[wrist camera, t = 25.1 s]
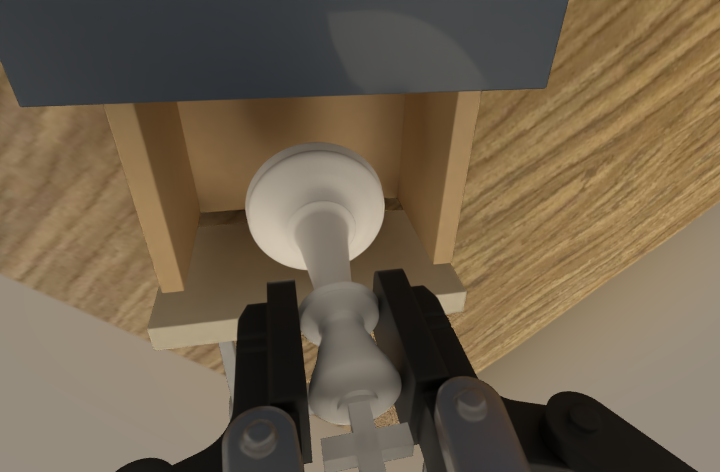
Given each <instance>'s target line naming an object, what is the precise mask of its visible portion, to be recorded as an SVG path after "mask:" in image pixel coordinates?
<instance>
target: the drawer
mask: <svg viewBox="0 0 720 472" xmlns="http://www.w3.org/2000/svg"><path fill="white" fill-rule="evenodd" d="M481 92H482V91H460V92H432V93H404V94H376V95H348V96H320V97H292V98H264V99H236V100H208V101H179V102H151V103H123V104H103V106H104V109H105V112H106V115H107V119H108V122H109V125H110V128H111V131H112V135H113V138H114V141H115V144H116V147H117V151H118V154H119V157H120V160H121V164H122V167H123V170H124V173H125V176H126V180H127V183H128V186H129V189H130V192H131V196H132V199H133V202H134V205H135V208H136V212H137V215H138V218H139V221H140V224H141V228H142V231H143V234H144V237H145V241H146V244H147V247H148V250H149V253H150V257H151V260H152V263H153V266H154V269H155V273H156V276H157V279H158V282H159V289H158V292H157V296H156V299H155V303H154V306H153V310H152V313H151V317H150V320H149V324H148V327H147V331H148V334H149V337H150V339H151V342H152V345H153V348H154V350H155V351H156V350H165V349H173V348H181V347H189V346H197V345H205V344H212V343H219V348H220V352H221V356H222V360H223V365H224V369H225V373H226V377H227V382H228V386H229V390H230V394H231V396H230V401H229V414H230V420H231V417H232V412H233V399H234V381H235V362H236V346H235V342H234V341H236V340H237V325H238V319H239V317H240V316H241V314H242V312H243V311H244V309H245V307H246V306H247V304H256V303H265V302H267V282H272V281H281V280H291V279H295V284H296V294H297V303H298V309H299V306H300V304H301V303H302V301H303V300H304V298H305V297H306V296H307V295H308V294H310V293H311V292H312V291H314V288H313V285H312V282H311V279H310V276H309V273H308V270H301V269H296V268H292V267H289V266H286V265H283V264H281V263H279V262H277V261H275V260H274V259H272V258H271V257H269V256H268V255H267V254H266V253H265V252H264V251H263V250H262V249H261V248H260V247H259V246H258V245H257V243H256V242H255V240H254V238H253V236H252V234H251V232H250V229H249V225H248V223H238V224H226V225H214V226H202V227H198V223H199V218H200V214H201V213H204V212H217V211H230V210H243V209H245V201H246V194H247V190H248V187H249V184H250V182H251V180H252V178H253V177H254V175H255V173H256V172H257V171H258V169H259V168H260V167H261V166H262V165H263V164H264V163H265V162H266V161H267V160H268V159H270V158H271V157H272V156H274V155H275V154H277V153H278V152H280V151H282V150H284V149H287V148H289V147H292V146H295V145H299V144H303V143H310V142H325V143H332V144H337V145H340V146H343V147H346V148H348V149H350V150H352V151H354V152H356V153H357V154H359V155H360V156H361V157H363V158H364V159H365V160H366V161H367V162H368V163H369V164H370V165H371V166H372V168H373V169H374V170H375V172H376V174H377V176H378V178H379V180H380V183H381V186H382V191H383V196H384V199H385V198H398V200H399V202H400V204H401V205H402V207H403V209H404V210H396V211H384V218H383V222H382V225H381V228H380V230H379V232H378V234H377V236H376V237H375V239H374V240H373V242H372V243H371V244H370V245H369V246H368V248H367V249H366V250H364V251H363V252H362V253H361V254H360V255H358V256H357V257H355V258H354V259H352V260H350V272H351V280H352V282H355V283H359V284H362V285H364V286H366V287H368V288H369V289H370V290H372V291H373V277H374V272H375V271H380V270H389V269H399V268H402V269H403V270H404V272H405V274H406V276H407V278H408V281H409V283H410V285H411V286H420V285H424V286H425V287H426V288H427V289H429V290H430V291H431V292H432V293H433V294H434V295H435V296H436V297H438V299H439V302H440V304H441V306H442V308H443V310H444V312H445V314H450V313H457V312H463V308H464V303H465V298H466V294H467V291H466V289H465V287H464V286H463V284H462V282H461V281H460V279H459V277H458V276H457V274H456V272H455V270H454V269H453V267H452V265H451V264H450V263H451V262H452V257H453V252H454V246H455V240H456V235H457V229H458V223H459V218H460V212H461V206H462V200H463V195H464V189H465V183H466V178H467V172H468V166H469V161H470V155H471V149H472V144H473V138H474V132H475V127H476V121H477V115H478V109H479V104H480V98H481ZM300 331H301V329H300ZM301 332H302V331H301ZM309 385H310V383H306V386H307V396H308V390H309ZM308 409H309V415H314V414H315V413H314V412H313V411H312V409H311V408H310V405H309V402H308Z"/></svg>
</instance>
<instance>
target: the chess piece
mask: <svg viewBox="0 0 720 472" xmlns="http://www.w3.org/2000/svg"><path fill="white" fill-rule="evenodd" d="M245 211H246V217H247V221H248V225H249V229H250V232H251V234H252V236H253V238H254V240H255V242H256V243H257V245H258V246H259V247H260V248H261V249H262V250H263V251H264V252H265V253H266V254H267V255H268V256H269V257H271V258H272V259H274V260H275V261H277V262H279V263H281V264H283V265H286V266H289V267H292V268H296V269H301V270H308V273H309V276H310V279H311V282H312V285H313V288H314V291H312V292H311V293H310V294H308V295H307V296H306V297H305V298H304V300H303V301H302V303H301V304H300V306H299V309H298V312H299V321H300V329H301V331H302V333H303V335H304V336H305V337H306V338H307V339H308V340H309V341H310V342H312V343H314V344H315V345H318V346H319V349H318V355H317V361H316V365H315V368H314V370H313V373H312V376H311V380H310V385H309V390H308V402H309V405H310V408H311V409H312V411H313V412H314V413H315V414H316V415H317V416H318V417H319V418H321V419H323V420H324V421H327V422H330V423H333V424H338V425H350V426H351V431H352V433H349V434H344V435H339V436H334V437H328V438H323V439H321V445H322V453H323V461H324V469H325V472H337V471H342V470H347V469H351V468H356V467H358V468H359V472H386V469H385V465H384V462H386V461H391V460H396V459H400V458H405V457H410V456H413V449H414V442H413V439H412V435H411V432H410V429H409V426H408V422H406V423H401V424H396V425H391V426H386V427H380V428H376V427H375V423H374V419H375V418H377V417H379V416H380V415H382V414H384V413H385V412H386V411H387V410H389V409H390V408H391V407H392V406H393V404H394V403H395V402H396V400H397V399H398V397H399V395H400V392H401V387H402V382H401V377H400V375H399V372H398V371H397V369H396V367H395V366H394V365H393V363H392V362H391V361H390V359H389V358H388V357H387V356H386V355H385V354H384V353H383V352H382V351H381V350H380V348H379V347H378V346H377V345H376V343H375V341H374V340H373V338H372V337H371V335H370V333H371V332H372V331H373V330H374V328H375V327H376V325H377V323H378V319H379V309H378V298H377V297H376V295H375V294H374V293H373V291H372V290H370V289H369V288H368V287H366V286H364V285H362V284H359V283H355V282H352V280H351V272H350V260H352V259H354V258H355V257H357V256H358V255H360V254H361V253H362V252H363V251H364V250H366V249H367V248H368V246H369V245H370V244H371V243H372V242H373V240H374V239H375V237H376V236H377V234H378V232H379V230H380V228H381V225H382V222H383V218H384V211H385V203H384V196H383V191H382V186H381V183H380V180H379V178H378V176H377V174H376V172H375V170H374V169H373V168H372V166H371V165H370V164H369V163H368V162H367V161H366V160H365V159H364V158H363V157H361V156H360V155H359V154H357V153H356V152H354V151H352V150H350V149H348V148H346V147H343V146H340V145H337V144H332V143H325V142H310V143H303V144H299V145H295V146H292V147H289V148H287V149H284V150H282V151H280V152H278V153H277V154H275V155H274V156H272V157H271V158H270V159H268V160H267V161H266V162H265V163H264V164H263V165H262V166H261V167H260V168H259V169H258V171H257V172H256V173H255V175H254V177H253V178H252V180H251V182H250V184H249V187H248V190H247V194H246V201H245Z"/></svg>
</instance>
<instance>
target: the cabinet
mask: <svg viewBox="0 0 720 472" xmlns="http://www.w3.org/2000/svg"><path fill="white" fill-rule="evenodd" d="M568 1H569V0H0V60H1V63H2V65H3V68H4V70H5V72H6V75H7V77H8V79H9V82H10V84H11V87H12V89H13V91H14V94H15V96H16V98H17V101H18V103H19V106H20V107H39V106H67V105H95V104H123V103H151V102H179V101H208V100H236V99H264V98H292V97H320V96H348V95H376V94H404V93H432V92H460V91H488V90H517V89H544V88H546V86H547V82H548V79H549V75H550V71H551V67H552V63H553V59H554V55H555V51H556V47H557V44H558V40H559V36H560V32H561V28H562V24H563V20H564V16H565V12H566V9H567V5H568Z"/></svg>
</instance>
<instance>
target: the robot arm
mask: <svg viewBox="0 0 720 472" xmlns="http://www.w3.org/2000/svg"><path fill="white" fill-rule="evenodd" d="M373 293H374V294H375V295H376V297H377V298H378V309H379V319H378V323H377V325H376V327H375V328H374V330H373V331H374V336H375V339H376V343H377V346H378V347H379V348H380V350H381V351H382V352H383V353H384V354H385V355H386V356H387V357H388V358H389V359H390V361H391V362H392V363H393V365H394V366H395V367H396V369H397V371H398V372H399V375H400V377H401V382H402V387H401V392H400V395H399V397H398V399H397V400H396V402H395V403H394V405H395V408H396V412H397V415H398V419H399V422H400V424H401V423H406V422H408V426H409V429H410V432H411V435H412V439H413V442H414V445H417V444H419V445H420V448H421V451H422V454H423V457H424V463H423V472H698V471H696V470H695V469H693V468H692V467H690V466H689V465H687V464H686V463H685V462H683V461H682V460H681V459H679V458H678V457H676V456H675V455H673V454H672V453H670V452H669V451H668V450H666V449H665V448H663V447H662V446H661V445H659V444H658V443H656V442H655V441H654V440H652V439H651V438H649V437H648V436H646V435H645V434H644V433H642V432H641V431H639V430H638V429H637V428H635V427H634V426H632V425H631V424H629V423H628V422H627V421H625V420H624V419H622V418H621V417H619V416H618V415H617V414H615V413H614V412H612V411H611V410H610V409H608V408H607V407H605V406H604V405H603V404H601V403H600V402H598V401H597V400H595V399H593V398H591V397H589V396H587V395H584V394H582V393H578V392H571V391H567V392H560V393H557V394H555V395H553V396H552V397H551V398H550V399H549V401H548V403H547V405H541V404H534V403H527V402H520V401H514V400H510V399H507V398H504V397H502V396H499V394H498V393H497V392H496V391H495V390H494V389H493V388H492V387H491V386H490V385H489V384H487V383H485V382H484V381H481V380H479V379H478V377H477V376H476V374H475V372H474V370H473V368H472V366H471V364H470V362H469V360H468V358H467V356H466V354H465V352H464V350H463V348H462V346H461V344H460V342H459V340H458V338H457V336H456V334H455V332H454V330H453V328H451V324H450V322H449V320H448V318H447V316H446V315H445V312H444V310H443V308H442V306H441V304H440V302H439V299H438V297H436V296H435V295H434V294H433V293H432V292H431V291H430V290H429V289H427V288H426V287H425V286H424V285H420V286H411V285H410V283H409V281H408V278H407V276H406V274H405V272H404V270H403V269H402V268H399V269H389V270H380V271H375V272H374V277H373ZM306 463H312V451H311V437H310V423H309V409H308V396H307V386H306V377H305V368H304V359H303V349H302V340H301V331H300V321H299V312H298V303H297V294H296V284H295V279H291V280H281V281H272V282H267V302H265V303H256V304H247V306H246V307H245V309H244V311H243V312H242V314H241V316H240V317H239V319H238V325H237V343H236V362H235V381H234V399H233V412H232V417H231V420H230V423H229V425H228V427H227V428H226V430H225V431H224V433H223V434H222V435H221V437H219V439H218V440H217V441H216V442H214V443H213V444H212V445H211V446H209V447H208V448H206V449H205V450H203V451H201V452H199V453H197V454H195V455H193V456H191V457H189V458H187V459H185V460H183V461H181V462H179V463H176V464H174V465H171V464H169V463H168V462H166V461H164V460H162V459H158V458H144V459H140V460H136V461H134V462H131V463H128V464H127V465H125V466H123V467H121V468H120V469H118V470H117V471H116V472H304V464H306Z"/></svg>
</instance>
